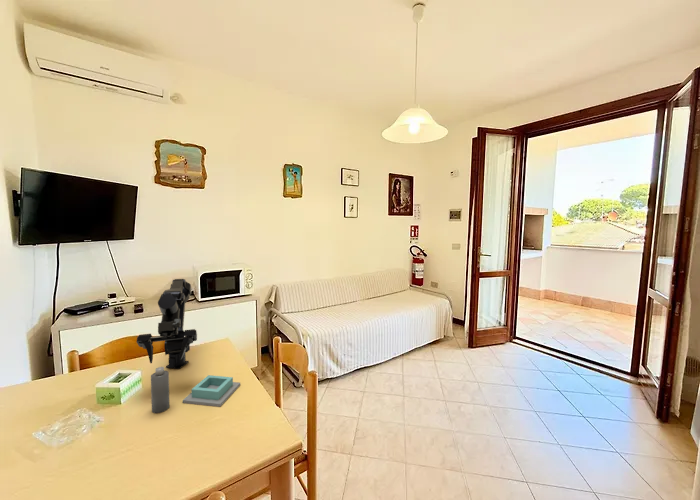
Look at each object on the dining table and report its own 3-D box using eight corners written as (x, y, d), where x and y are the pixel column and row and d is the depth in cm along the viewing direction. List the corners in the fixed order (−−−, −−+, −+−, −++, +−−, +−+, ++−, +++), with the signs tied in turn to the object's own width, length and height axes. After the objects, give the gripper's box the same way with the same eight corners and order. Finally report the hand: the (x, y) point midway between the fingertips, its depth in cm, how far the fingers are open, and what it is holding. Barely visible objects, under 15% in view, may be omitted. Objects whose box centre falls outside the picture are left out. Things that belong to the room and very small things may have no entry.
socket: (206, 381, 116) (206, 372, 115) (240, 385, 114) (240, 375, 114) (182, 402, 102) (182, 391, 101) (220, 406, 100) (220, 395, 100)
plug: (159, 403, 101) (158, 364, 100) (172, 404, 100) (172, 365, 99) (148, 412, 96) (146, 371, 95) (161, 414, 96) (160, 372, 94)
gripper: (136, 313, 103) (128, 358, 95) (195, 309, 111) (193, 349, 102) (143, 326, 112) (136, 367, 103) (197, 321, 119) (196, 359, 111)
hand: (166, 361), depth 105 cm, fingers open, 9 cm apart
